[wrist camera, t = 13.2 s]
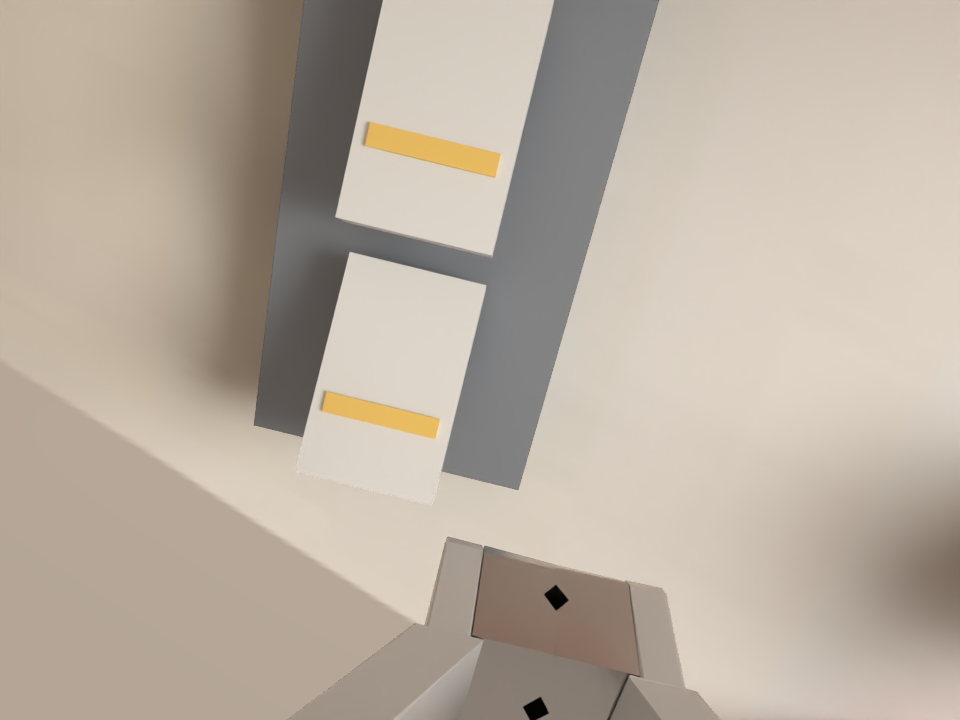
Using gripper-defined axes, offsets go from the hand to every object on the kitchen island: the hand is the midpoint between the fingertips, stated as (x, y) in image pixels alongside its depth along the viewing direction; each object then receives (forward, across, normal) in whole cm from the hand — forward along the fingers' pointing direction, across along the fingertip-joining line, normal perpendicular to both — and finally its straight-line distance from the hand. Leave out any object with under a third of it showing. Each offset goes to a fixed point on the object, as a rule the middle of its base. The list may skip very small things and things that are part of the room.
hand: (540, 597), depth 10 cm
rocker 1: (+19, +5, -4) cm, 20 cm away
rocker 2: (+18, +5, +7) cm, 20 cm away
